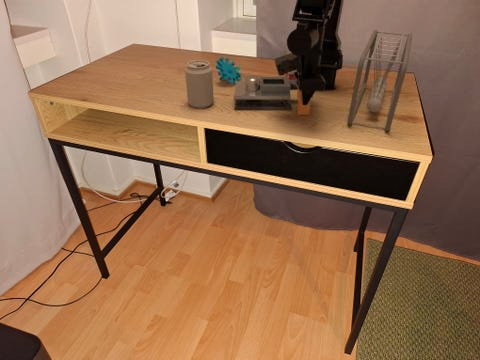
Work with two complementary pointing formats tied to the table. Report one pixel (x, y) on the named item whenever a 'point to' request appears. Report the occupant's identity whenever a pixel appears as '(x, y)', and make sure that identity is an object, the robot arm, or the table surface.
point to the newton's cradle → (379, 78)
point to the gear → (228, 70)
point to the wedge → (302, 108)
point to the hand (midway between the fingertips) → (304, 103)
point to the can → (199, 83)
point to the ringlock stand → (264, 93)
